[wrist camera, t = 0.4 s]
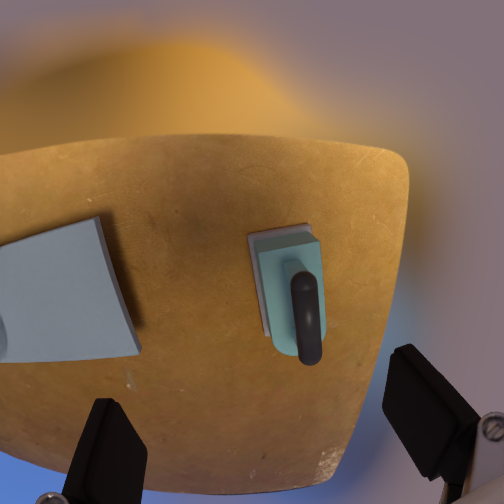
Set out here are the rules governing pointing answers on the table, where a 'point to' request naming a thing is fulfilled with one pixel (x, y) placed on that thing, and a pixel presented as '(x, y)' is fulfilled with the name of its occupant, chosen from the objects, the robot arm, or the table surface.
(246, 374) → the table surface
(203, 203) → the table surface
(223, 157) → the table surface
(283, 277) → the iron
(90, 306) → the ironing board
